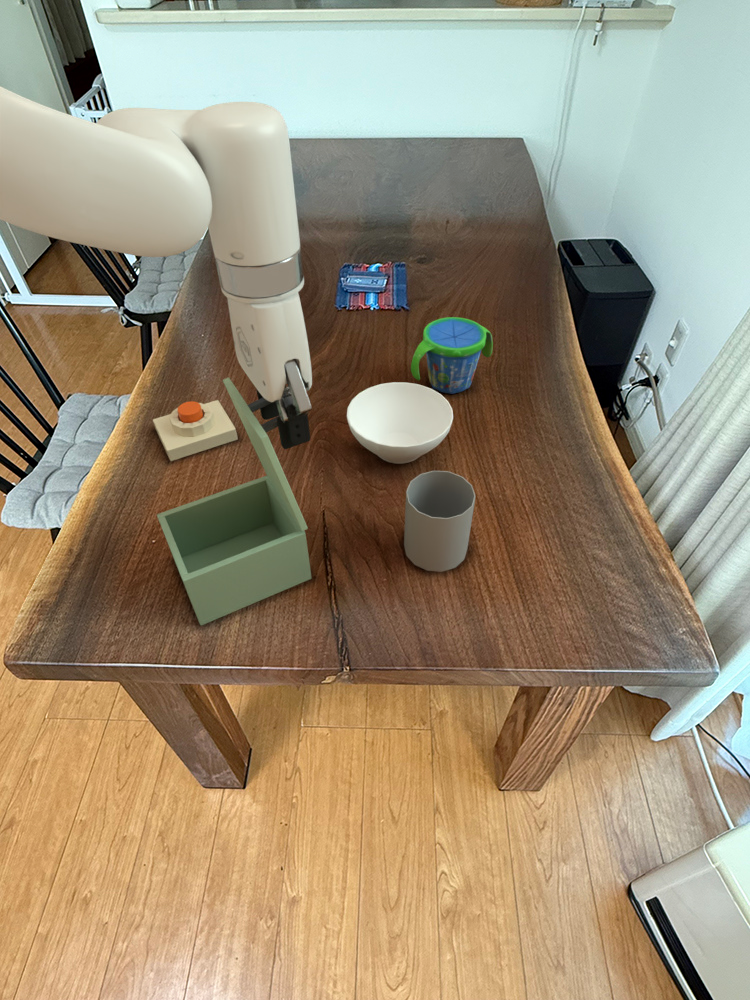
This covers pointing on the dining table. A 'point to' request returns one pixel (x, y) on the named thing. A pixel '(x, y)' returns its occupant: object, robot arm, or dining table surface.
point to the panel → (195, 431)
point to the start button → (190, 412)
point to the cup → (438, 520)
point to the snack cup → (452, 352)
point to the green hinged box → (236, 548)
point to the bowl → (399, 420)
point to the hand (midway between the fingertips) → (285, 427)
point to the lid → (266, 446)
